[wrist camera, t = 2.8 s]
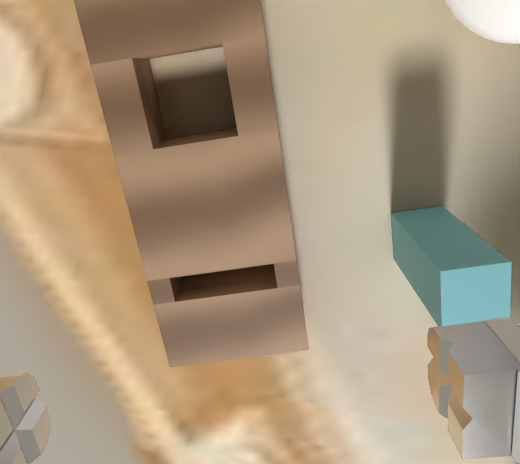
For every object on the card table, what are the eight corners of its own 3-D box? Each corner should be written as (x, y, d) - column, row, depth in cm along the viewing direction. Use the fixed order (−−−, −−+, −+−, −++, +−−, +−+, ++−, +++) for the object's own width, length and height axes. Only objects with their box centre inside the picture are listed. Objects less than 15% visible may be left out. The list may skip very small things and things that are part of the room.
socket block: (304, 320, 36) (308, 349, 33) (179, 336, 37) (169, 367, 33) (256, -21, 28) (255, -34, 25) (98, 7, 29) (73, -1, 25)
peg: (442, 252, 34) (509, 322, 25) (393, 258, 34) (441, 331, 25) (441, 205, 33) (511, 261, 24) (390, 213, 33) (440, 271, 24)
